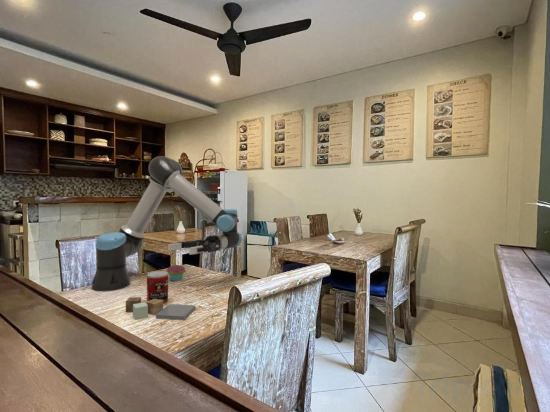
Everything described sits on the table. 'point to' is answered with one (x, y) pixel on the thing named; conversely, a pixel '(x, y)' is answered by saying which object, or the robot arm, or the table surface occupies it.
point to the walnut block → (132, 301)
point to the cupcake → (176, 271)
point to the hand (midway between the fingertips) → (178, 249)
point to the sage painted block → (140, 310)
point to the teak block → (154, 306)
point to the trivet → (175, 312)
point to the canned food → (157, 286)
